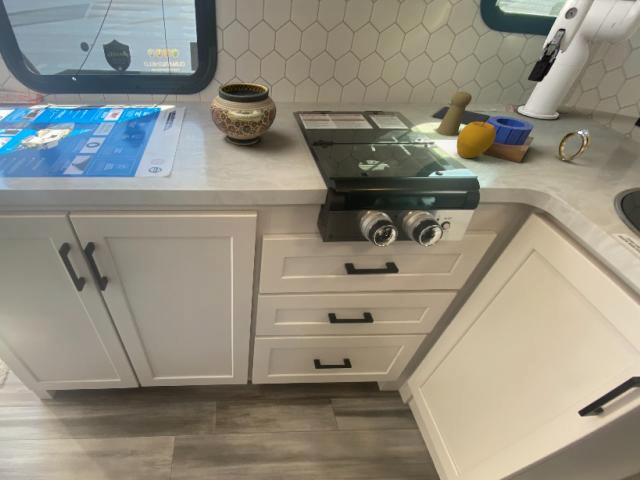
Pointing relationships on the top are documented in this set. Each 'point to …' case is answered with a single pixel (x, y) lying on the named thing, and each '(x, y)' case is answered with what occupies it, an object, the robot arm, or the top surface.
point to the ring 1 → (510, 130)
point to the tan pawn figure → (454, 114)
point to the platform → (509, 150)
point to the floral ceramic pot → (243, 112)
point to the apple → (475, 139)
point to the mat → (467, 116)
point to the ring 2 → (584, 146)
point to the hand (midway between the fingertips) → (536, 78)
